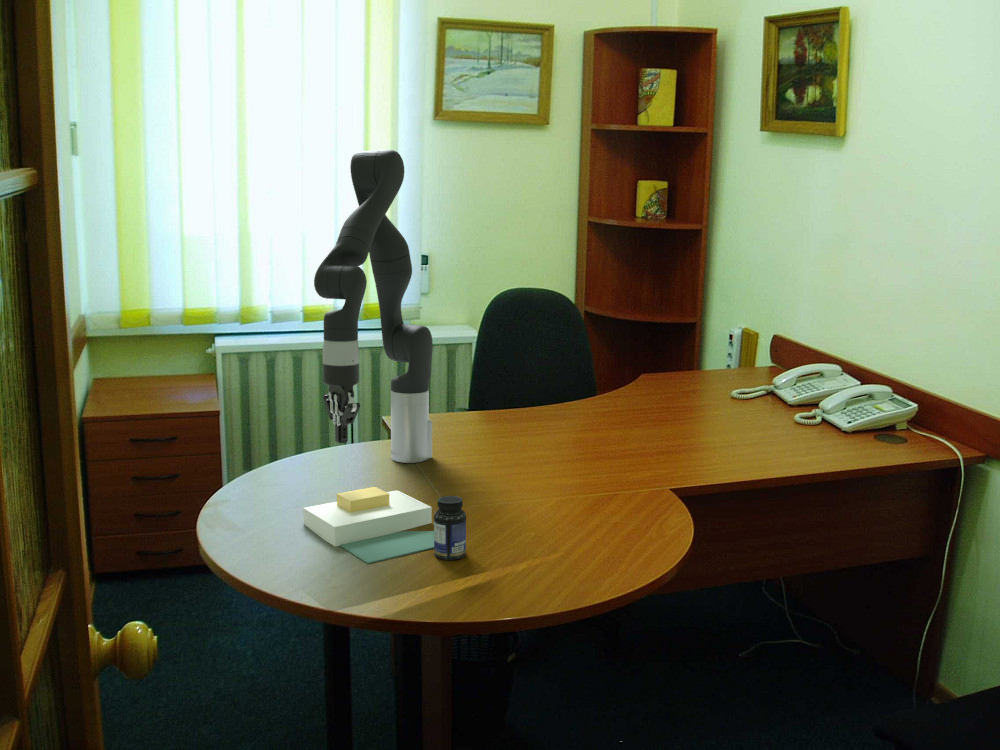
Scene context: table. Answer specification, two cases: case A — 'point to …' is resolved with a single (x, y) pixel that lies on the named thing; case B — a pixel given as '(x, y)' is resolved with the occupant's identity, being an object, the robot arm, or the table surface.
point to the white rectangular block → (366, 519)
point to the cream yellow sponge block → (362, 499)
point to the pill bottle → (450, 529)
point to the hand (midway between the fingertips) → (341, 442)
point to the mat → (391, 545)
